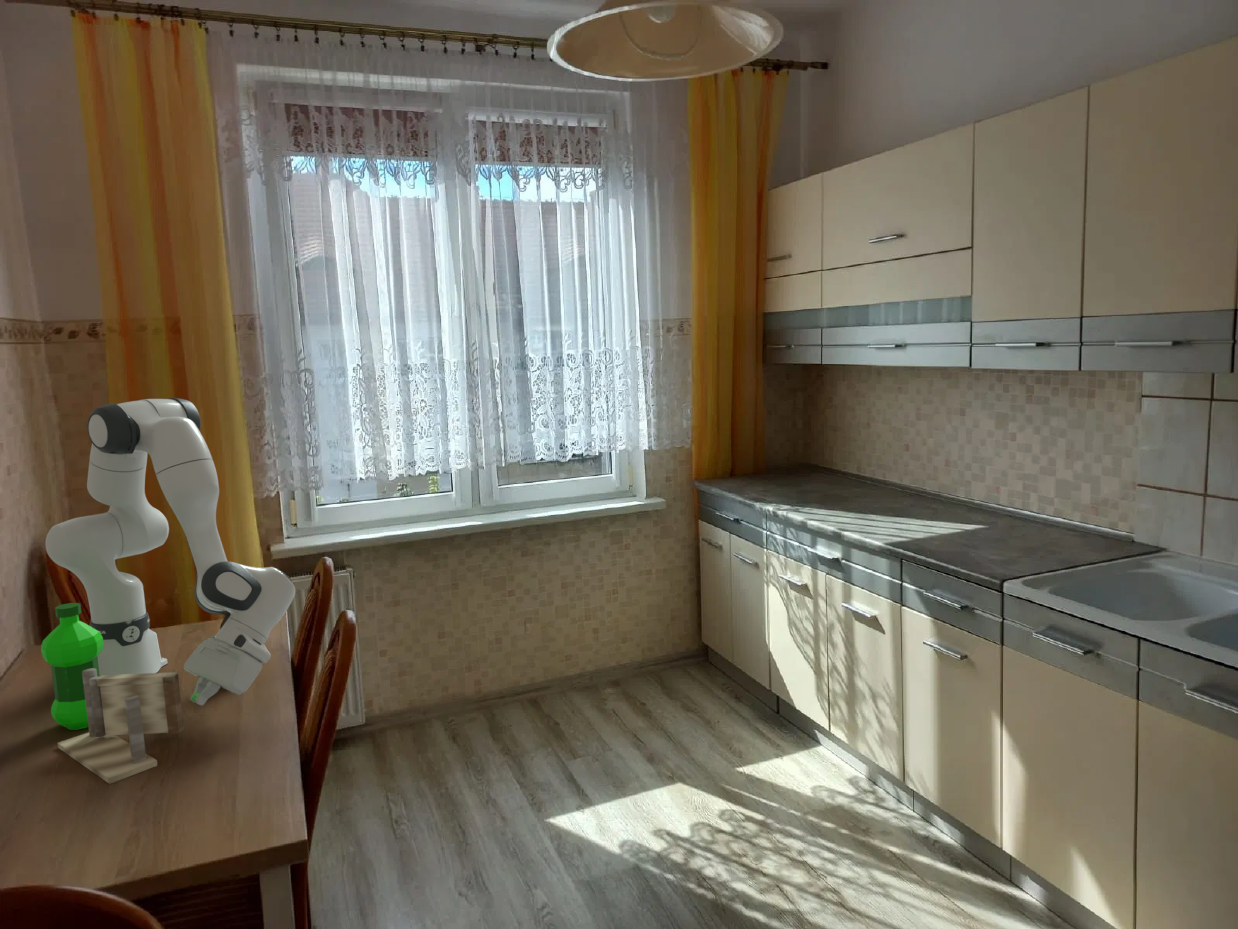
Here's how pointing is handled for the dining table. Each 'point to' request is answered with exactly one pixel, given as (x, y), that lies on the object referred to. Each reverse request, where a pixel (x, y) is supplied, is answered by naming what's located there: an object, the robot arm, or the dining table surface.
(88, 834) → the dining table surface
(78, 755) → the wooden stand
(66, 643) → the plastic bottle
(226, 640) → the robot arm
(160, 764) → the dining table surface
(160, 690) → the gate
